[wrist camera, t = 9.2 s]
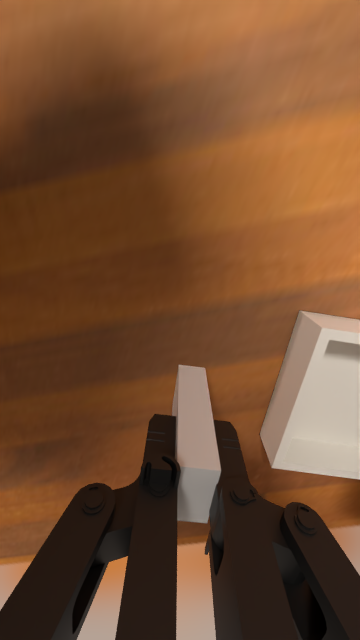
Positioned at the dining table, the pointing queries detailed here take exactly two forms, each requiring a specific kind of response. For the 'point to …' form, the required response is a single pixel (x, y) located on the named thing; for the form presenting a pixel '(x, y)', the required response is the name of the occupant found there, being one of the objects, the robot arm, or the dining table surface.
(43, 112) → the dining table surface
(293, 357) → the tray
